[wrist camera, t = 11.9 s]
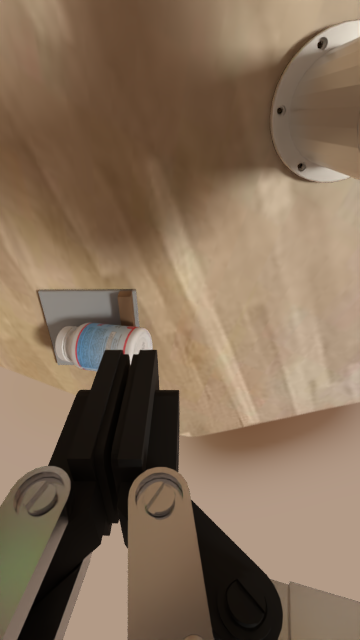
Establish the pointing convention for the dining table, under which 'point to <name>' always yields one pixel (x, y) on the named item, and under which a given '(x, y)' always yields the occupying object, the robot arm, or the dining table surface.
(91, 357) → the pill bottle
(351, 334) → the dining table surface
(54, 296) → the mat
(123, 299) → the stop bar
